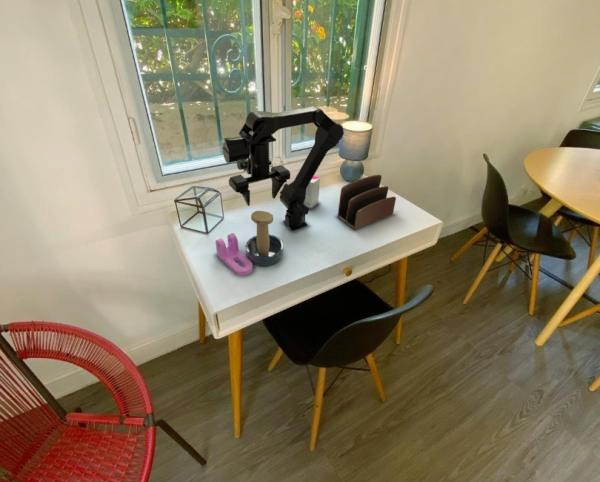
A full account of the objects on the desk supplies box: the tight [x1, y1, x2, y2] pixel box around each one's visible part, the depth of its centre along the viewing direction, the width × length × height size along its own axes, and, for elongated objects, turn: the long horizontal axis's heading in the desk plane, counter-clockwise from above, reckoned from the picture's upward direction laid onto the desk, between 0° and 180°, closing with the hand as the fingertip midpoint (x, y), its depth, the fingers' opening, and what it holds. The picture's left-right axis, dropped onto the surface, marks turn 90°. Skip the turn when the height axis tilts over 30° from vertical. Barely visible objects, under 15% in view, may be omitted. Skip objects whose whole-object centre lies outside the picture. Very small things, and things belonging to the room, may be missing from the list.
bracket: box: [215, 232, 254, 276], centre depth 100 cm, size 13×6×7 cm, turn 42°
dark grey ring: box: [245, 233, 284, 268], centre depth 104 cm, size 12×12×4 cm
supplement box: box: [304, 175, 321, 210], centre depth 128 cm, size 6×6×12 cm
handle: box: [250, 210, 274, 256], centre depth 100 cm, size 5×6×15 cm
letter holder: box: [337, 174, 397, 231], centre depth 122 cm, size 10×20×14 cm, turn 124°
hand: (261, 201), depth 107 cm, fingers open, 9 cm apart
